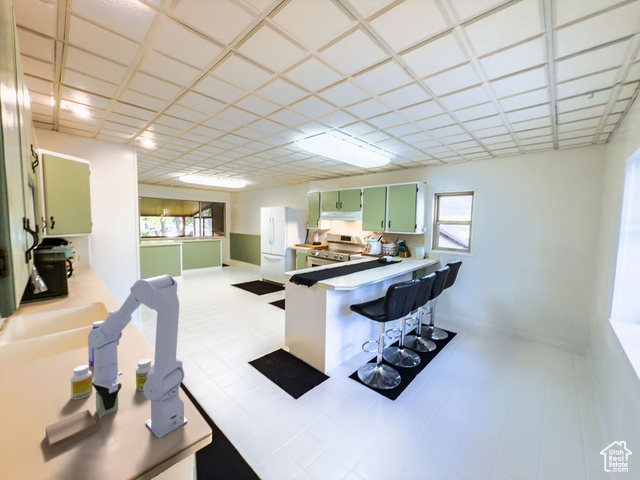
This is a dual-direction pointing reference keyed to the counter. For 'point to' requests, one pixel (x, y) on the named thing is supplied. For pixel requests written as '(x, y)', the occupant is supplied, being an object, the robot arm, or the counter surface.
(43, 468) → the counter surface
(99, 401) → the sage block
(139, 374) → the supplement bottle
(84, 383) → the supplement bottle
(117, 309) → the robot arm
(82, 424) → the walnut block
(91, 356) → the bottle
